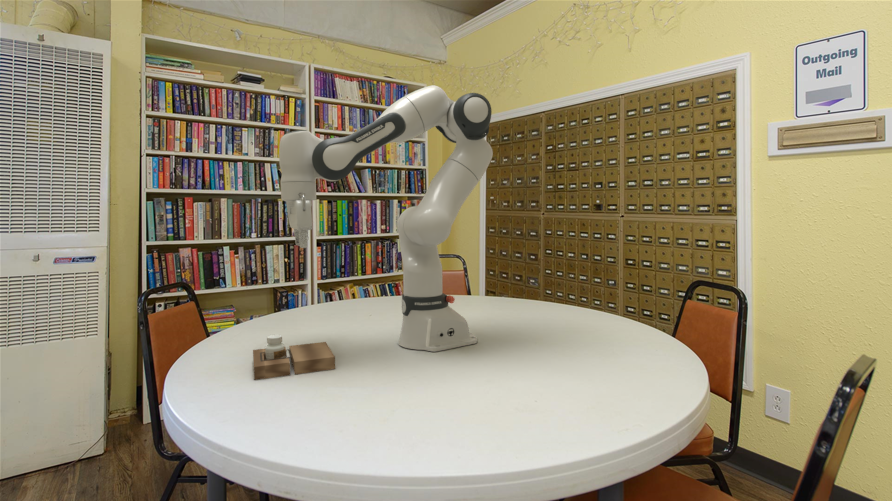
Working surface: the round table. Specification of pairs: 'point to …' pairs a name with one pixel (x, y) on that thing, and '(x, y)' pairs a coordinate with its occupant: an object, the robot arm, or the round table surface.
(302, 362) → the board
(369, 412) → the round table surface
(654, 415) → the round table surface
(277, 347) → the pill bottle
